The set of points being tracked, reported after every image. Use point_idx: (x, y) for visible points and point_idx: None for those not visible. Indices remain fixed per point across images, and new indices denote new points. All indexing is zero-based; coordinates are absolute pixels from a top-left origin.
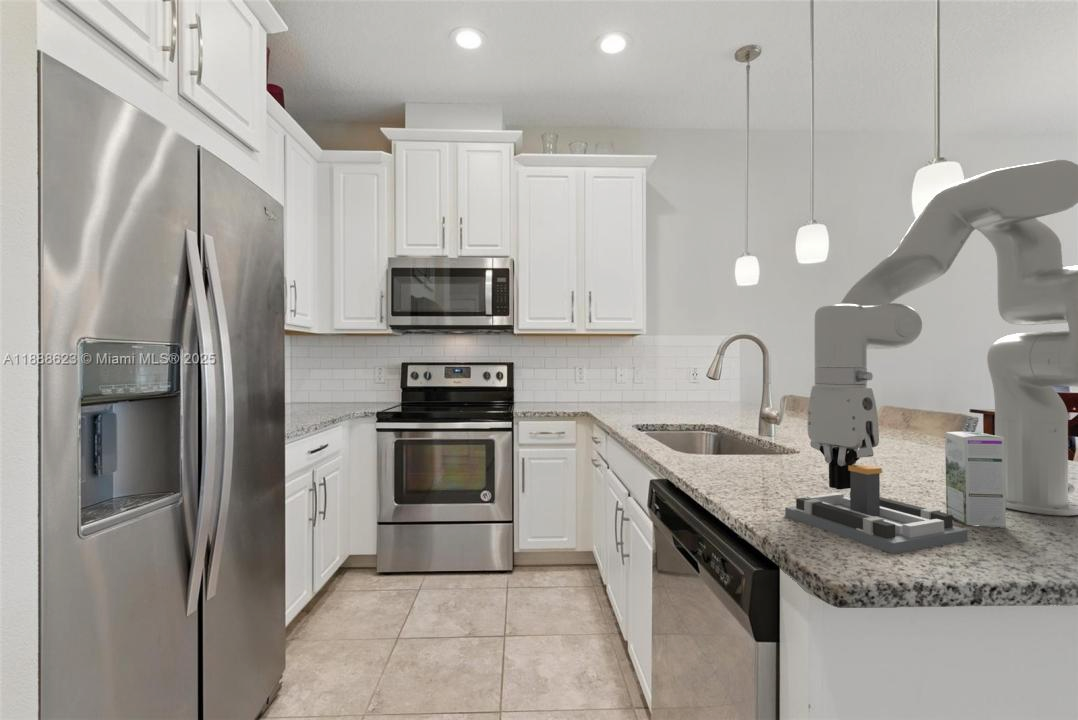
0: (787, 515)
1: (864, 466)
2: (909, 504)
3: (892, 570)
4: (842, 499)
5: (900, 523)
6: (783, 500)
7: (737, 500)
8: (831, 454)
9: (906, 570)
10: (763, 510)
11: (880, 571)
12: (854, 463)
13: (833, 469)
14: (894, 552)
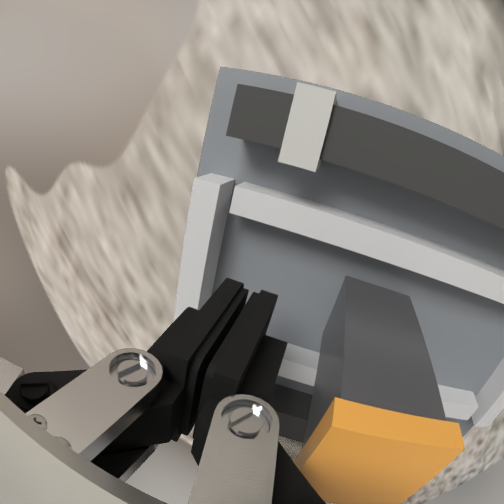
0: None
1: (364, 474)
2: (495, 173)
3: (437, 479)
4: (235, 211)
5: (468, 308)
6: (81, 203)
7: (56, 301)
8: (133, 468)
9: (454, 468)
10: (126, 343)
11: (422, 488)
12: (274, 424)
13: (195, 420)
14: None
